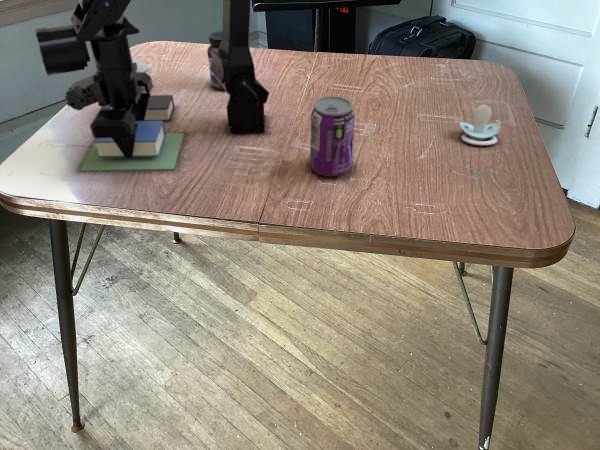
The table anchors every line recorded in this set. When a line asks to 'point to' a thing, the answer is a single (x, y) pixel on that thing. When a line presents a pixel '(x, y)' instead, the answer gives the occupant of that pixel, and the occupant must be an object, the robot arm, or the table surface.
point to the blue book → (137, 141)
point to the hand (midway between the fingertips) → (133, 146)
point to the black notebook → (156, 108)
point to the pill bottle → (215, 43)
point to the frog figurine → (141, 66)
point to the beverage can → (332, 135)
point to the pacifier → (480, 128)
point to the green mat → (137, 158)
